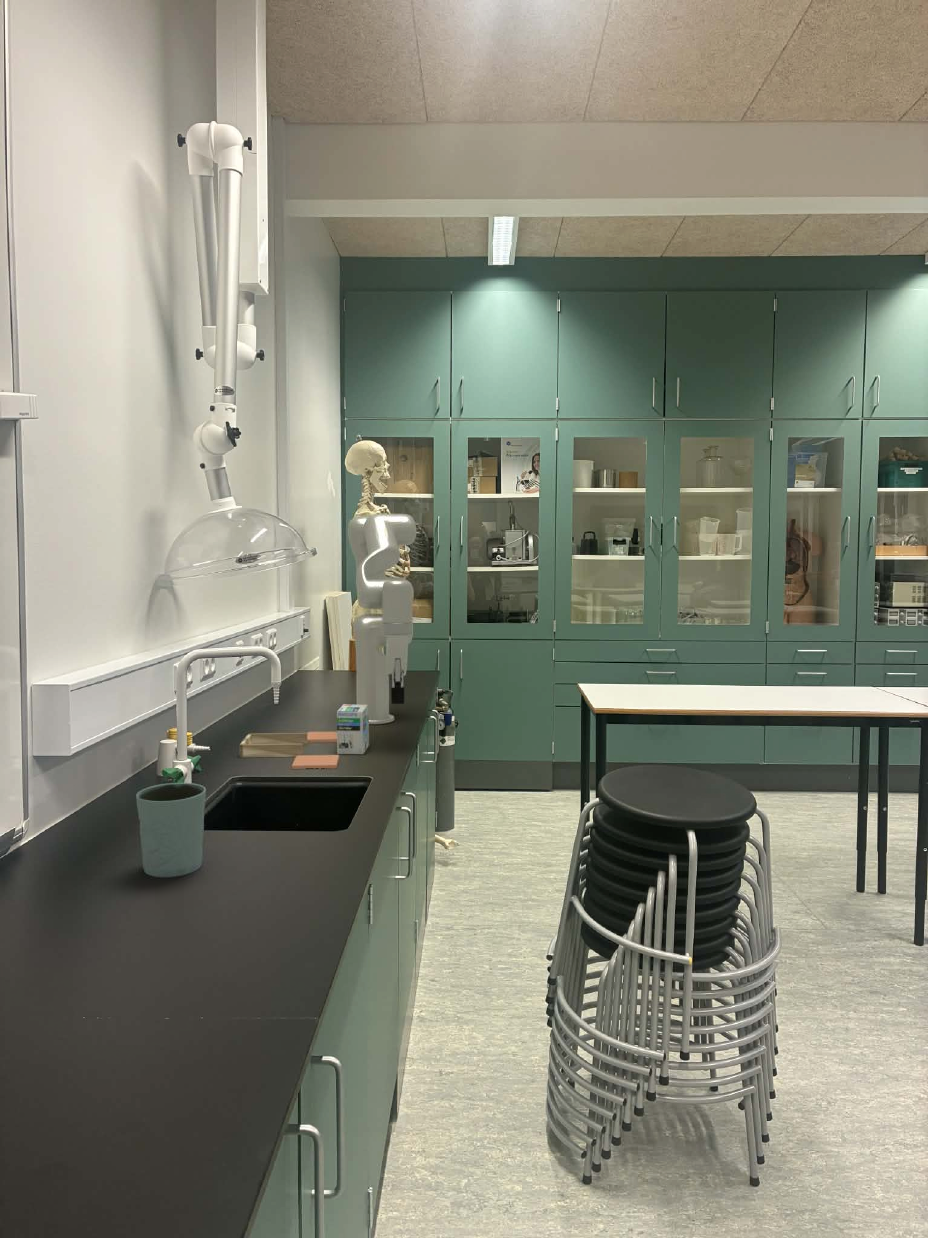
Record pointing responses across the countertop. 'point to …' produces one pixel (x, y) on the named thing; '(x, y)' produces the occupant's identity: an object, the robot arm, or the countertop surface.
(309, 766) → the plate
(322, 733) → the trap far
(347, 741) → the light bulb box
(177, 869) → the teal cup
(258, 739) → the wooden tray
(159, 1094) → the countertop surface
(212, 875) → the countertop surface
